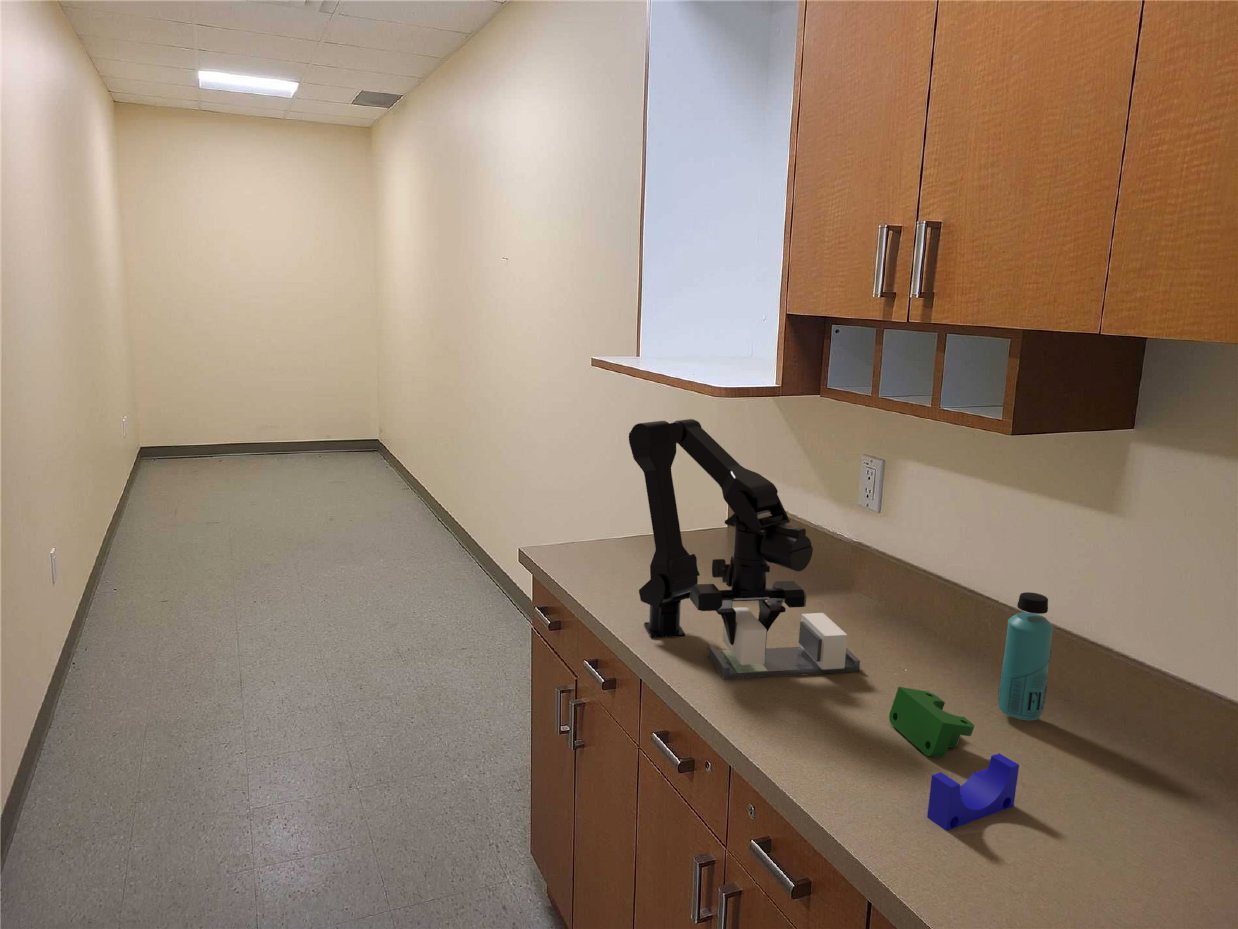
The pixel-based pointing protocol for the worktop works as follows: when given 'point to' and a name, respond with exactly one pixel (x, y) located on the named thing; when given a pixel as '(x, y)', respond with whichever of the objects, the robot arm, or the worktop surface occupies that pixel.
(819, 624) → the block
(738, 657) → the white rectangular prism
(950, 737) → the clamp
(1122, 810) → the worktop surface
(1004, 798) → the blue bracket
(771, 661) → the rail
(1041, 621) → the beverage bottle
